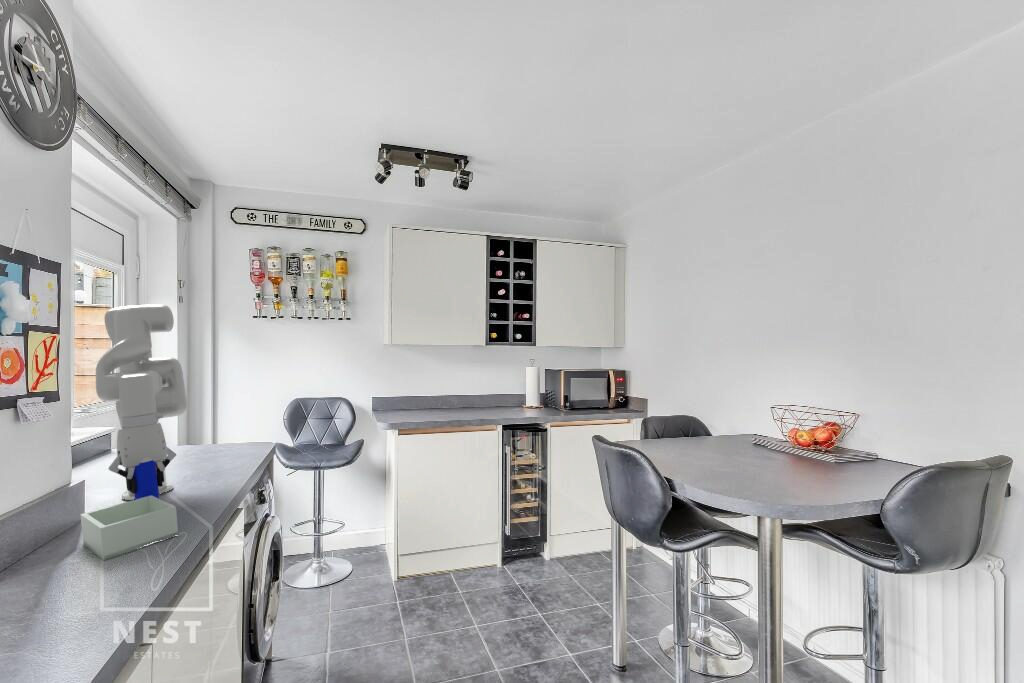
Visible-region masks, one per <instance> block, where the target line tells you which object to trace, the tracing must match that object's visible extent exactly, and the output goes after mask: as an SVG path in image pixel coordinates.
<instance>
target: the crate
mask: <svg viewBox="0 0 1024 683" xmlns="http://www.w3.org/2000/svg"><path fill="white" fill-rule="evenodd" d="M79 516H80V523H81V524H80V526H81V533H82V545H84V546H85V547H86V548H87V549H89V550H90V551H91V552H93V553H94V554H95V555H96V556H97V557H99V558H100V559H101V560H102V561H108V560H110V559H113V558H116V557H119V556H122V555H125V553H126V554H128V552H129V553H131V551H132V552H134V551H133V550H135V549H137V548H140V547H143V546H144V545H147V544H150V543H152V542H155V541H160V540H164V539H167V538H171V537H173V536H175V535H179V527H178V526H179V525H178V517H177V516H178V515H177V506H175V505H173V504H171V503H169V502H167V501H166V500H165V501H164V500H162V499H161V498H159V499H158V498H156V497H154V496H152V495H151V496H147V497H143V498H140V499H136V500H127V501H125V502H121V503H118V504H114V505H110V506H106V507H103V508H99V509H96V510H91V511H88V512H85V513H80V515H79ZM171 539H172V538H171ZM135 551H136V550H135Z"/></svg>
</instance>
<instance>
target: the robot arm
mask: <svg viewBox="0 0 1024 683" xmlns="http://www.w3.org/2000/svg"><path fill="white" fill-rule="evenodd" d="M103 319H104V326H105V330H106V332H107V334H108V337H109V339H110V341H111V342H112V344H113V346H112V347H110V348H109V349H108V350H107V351H106V352H105V353H103V355H102V356H101V357H100V359H99V360H97V361H98V362H97V364H96V367H95V391H96V395H97V397H98V398H99V399H100V400H101V401H103V402H106V403H110V402H111V403H112V402H113V403H114V402H115V409H116V413H117V417H118V420H119V424H120V428H118V430H117V436H116V457H115V459H114V460H113V462H111V464H110V465H109V466H108V468H107V470H108V471H110V472H113V473H115V474H117V475H119V476H122V477H124V478H125V482H126V490H127V491H126V490H125V491H124V492H122V494H121V499H122V500H124V499H125V501H132V500H134V499H135V493H136V492H137V490H136V479H135V478H134V477H133V473H134V469H135V466H138V465H139V463H140V462H141V461H142V460H143V459H144V458H151V459H153V461H154V462H156V468H157V478H158V489H159V494H160V493H163V492H166V493H168V492H170V491H172V490H173V488H174V485H173V483H171V482H167V476H166V475H167V474H166V468H167V467H168V465H169V464H170V463H171V462H172V461H173V460H174V458H175V457H176V456H177V453H176V452H175V451H173V450H172V449H170V448H169V446H167V442H166V436H165V432H164V430H163V426H162V424H161V422H159V420H160V419H167V418H174V417H178V416H181V415H183V414H184V413H186V411H187V408H188V406H187V405H188V401H187V394H186V386H185V380H184V373H183V367H182V365H181V363H180V361H179V360H178V359H177V358H174V357H167V356H166V357H156V358H155V357H153V353H152V351H153V350H152V347H153V346H152V345H153V344H152V337H151V334H152V333H153V334H154V333H167V332H171V331H172V330H173V328H174V323H175V322H174V321H175V319H174V314H173V311H172V309H171V308H170V306H168V305H166V304H141V305H135V304H134V305H126V306H119V307H118V306H117V307H114V308H111V309H109V310H107V311H106V312H105V314H104V318H103ZM116 369H118V370H119V372H113V371H114V370H116ZM119 466H122V467H123V468H124V469H121V468H119ZM169 490H170V491H169ZM167 491H168V492H167ZM163 494H164V493H163Z"/></svg>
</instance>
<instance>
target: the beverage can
mask: <svg viewBox="0 0 1024 683" xmlns="http://www.w3.org/2000/svg"><path fill="white" fill-rule="evenodd" d="M133 477H134V478H135V479H136V490H137V492H136V493H135V500H136V499H140V498H143V497H147V496H151V495H152V496H154V497H156V498H158V499H160V495H159V489H158V478H157V468H156V462H154V461H153V459H151V458H144V459H143V460H142V461H141V462H140V463H139V465H138V466H135V469H134V473H133Z"/></svg>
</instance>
